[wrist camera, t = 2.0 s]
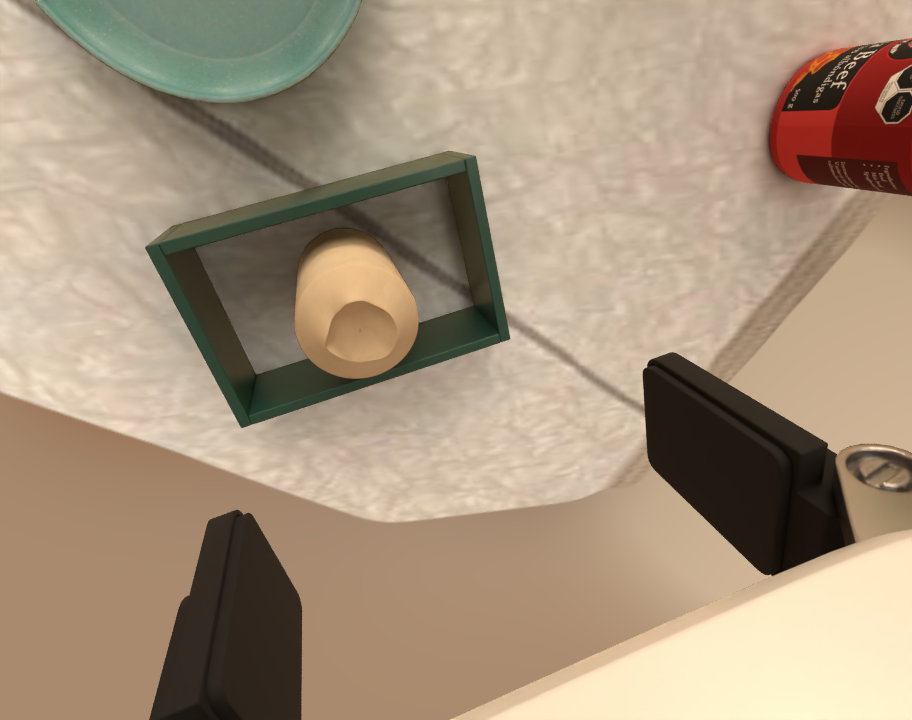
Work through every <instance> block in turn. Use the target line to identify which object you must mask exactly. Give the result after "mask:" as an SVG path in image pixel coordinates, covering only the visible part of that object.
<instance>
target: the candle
mask: <svg viewBox="0 0 912 720" xmlns="http://www.w3.org/2000/svg"><path fill="white" fill-rule="evenodd" d="M294 321H295V332H296V337H297V340H298V343H299V345H300V347H301V349H302V350H303V352H304V353H305V355H306V356H307V357H308V358H309V359H310V360H311V361H312V362H313V363H314V364H315V365H316V366H318V367H319V368H321V369H322V370H324V371H326V372H328V373H330V374H333V375H336V376H339V377H344V378H352V379H358V378H368V377H372V376H376V375H378V374H381V373H384V372H385V371H387V370H389V369H391V368H392V367H394V366H395V365H397V364H398V363H399V362H400V361H401V360H402V359H403V358H404V357H405V356H406V355H407V353H408V352H409V350H410V349H411V347H412V345H413V343H414V341H415V338H416V335H417V331H418V324H419V316H418V309H417V305H416V302H415V299H414V297H413V295H412V293H411V292H410V290H409V288H408V287H407V285H406V283H405V282H404V280H403V278H402V277H401V275H400V274H399V272H398V270H397V269H396V267H395V265H394V264H393V262H392V260H391V259H390V257H389V256H388V254H387V253H386V251H385V250H384V248H383V247H382V246H381V245H380V244H379V242H377V241H376V240H375V239H374V238H372V237H371V236H369V235H368V234H366V233H364V232H361V231H358V230H354V229H346V228H341V229H334V230H330V231H327V232H324V233H322V234H321V235H319V236H317V237H316V238H315V239H313V240H312V241H311V242H310V243H309V244H308V246H307V247H306V248H305V250H304V251H303V253H302V255H301V258H300V261H299V265H298V272H297V286H296V302H295V319H294Z"/></svg>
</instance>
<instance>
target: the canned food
mask: <svg viewBox="0 0 912 720" xmlns="http://www.w3.org/2000/svg"><path fill="white" fill-rule="evenodd" d="M770 149H771V153H772V157H773V160H774V162H775V164H776V166H777V167H778V168H779V169H780V170H781V171H782V172H783V173H785V174H786V175H788V176H790V177H791V178H793V179H795V180H797V181H801V182H806V183H814V184H822V185H830V186H837V187H845V188H853V189H861V190H869V191H877V192H885V193H892V194H900V195H908V196H912V38H911V39H904V40H897V41H890V42H883V43H876V44H869V45H862V46H855V47H848V48H841V49H837V50H833V51H830V52H828V53H826V54H824V55H822V56H820V57H818V58H816V59H814V60H812V61H810V62H809V63H807V64H806V65H805V66H804V67H802V68H801V69H800V70H799V71H798V72H797V73H796V74H795V75H794V76H793V78H792V79H791V80H790V82H789V83H788V85H787V86H786V87H785V89H784V91H783V93H782V95H781V97H780V98H779V100H778V103H777V106H776V108H775V111H774V114H773V118H772V122H771V128H770Z"/></svg>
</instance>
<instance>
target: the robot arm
mask: <svg viewBox="0 0 912 720" xmlns="http://www.w3.org/2000/svg"><path fill="white" fill-rule="evenodd" d="M643 388H644V404H645V421H646V437H647V453H648V459H649V462H650V464H651V466H652V467H653V469H654V470H655V471H656V472H657V473H658V474H659V475H660V476H661V477H662V478H663V479H665V480H666V482H668V483H669V484H670V485H671V486H672V487H673V488H674V489H675V490H676V491H677V492H678V493H679V494H680V495H681V496H682V497H683V498H684V499H685V500H686V501H687V502H688V503H689V504H690V505H691V506H692V507H693V508H694V509H695V510H696V511H697V512H699V513H700V514H701V515H702V516H703V517H704V518H705V519H706V520H707V521H708V522H709V523H710V524H711V525H712V526H713V527H714V528H715V529H716V530H717V531H718V532H719V533H720V534H721V535H722V536H723V537H724V538H725V539H726V540H728V542H730V543H731V544H732V545H733V546H734V547H735V548H736V549H737V550H738V551H739V552H740V553H741V554H742V555H743V556H744V557H745V558H746V559H747V560H748V561H749V562H750V563H751V564H752V565H753V566H754V567H755V568H756V569H758V570H759V571H760V572H761V573H763V574H765V575H770V574H771V575H772V577H770V578H767V579H765V580H763V581H760V582H758V583H756V584H753V585H751V586H749V587H746V588H744V589H742V590H740V591H737V592H735V593H733V594H731V595H728V596H726V597H724V598H722V599H719V600H717V601H715V602H712V603H711V604H708V605H706V606H703V607H701V608H699V609H696V610H694V611H692V612H690V613H687V614H685V615H683V616H681V617H678V618H676V619H674V620H671V621H669V622H667V623H665V624H662V625H660V626H658V627H656V628H653V629H651V630H649V631H647V632H644V633H642V634H640V635H638V636H635V637H633V638H631V639H629V640H627V641H624V642H622V643H620V644H617V645H615V646H613V647H611V648H608V649H606V650H604V651H602V652H599V653H597V654H595V655H593V656H591V657H588V658H586V659H584V660H582V661H579V662H577V663H575V664H573V665H571V666H569V667H566V668H564V669H561V670H559V671H557V672H555V673H553V674H550V675H548V676H546V677H544V678H542V679H539V680H537V681H535V682H532V683H530V684H528V685H526V686H524V687H522V688H519V689H517V690H515V691H512V692H510V693H508V694H506V695H504V696H501V697H500V698H497V699H495V700H493V701H490V702H488V703H486V704H484V705H482V706H479V707H477V708H475V709H473V710H471V711H468V712H466V713H464V714H462V715H460V716H457V717H455V718H453V719H451V720H912V453H911V452H909V451H906V450H903V449H899V448H896V447H893V446H887V445H880V444H859V445H854V446H849V447H847V448H845V449H843V450H841V451H840V452H839V454H838V455H837V454H836V453H834V452H832V451H831V450H829V449H827V447H828V444H827V443H826V442H824V441H823V440H821V439H819V438H818V437H816V436H814V435H813V434H811V433H809V432H808V431H806V430H804V429H803V428H801V427H799V426H797V425H796V424H794V423H793V422H791V421H789V420H787V419H786V418H784V417H782V416H781V415H779V414H777V413H776V412H774V411H772V410H771V409H769V408H767V407H766V406H764V405H762V404H761V403H759V402H757V401H756V400H754V399H752V398H751V397H749V396H747V395H746V394H744V393H742V392H741V391H739V390H737V389H736V388H734V387H732V386H731V385H729V384H727V383H726V382H724V381H722V380H721V379H719V378H717V377H715V376H714V375H712V374H710V373H709V372H707V371H705V370H704V369H702V368H700V367H699V366H697V365H695V364H694V363H692V362H690V361H689V360H687V359H685V358H684V357H682V356H680V355H679V354H677V353H674V352H671V353H668V354H665V355H662V356H660V357H657V358H654V359H651V360H650V361H649V362H648V364H647V368H645V369H644V370H643ZM301 675H302V606H301V601H300V597H299V595H298V593H297V591H296V589H295V588H294V586H293V584H292V582H291V581H290V579H289V577H288V576H287V574H286V572H285V570H284V568H283V567H282V565H281V563H280V562H279V560H278V558H277V556H276V555H275V553H274V551H273V550H272V548H271V546H270V544H269V543H268V541H267V539H266V538H265V536H264V534H263V532H262V531H261V529H260V527H259V525H258V524H257V522H256V520H255V519H254V517H253V516H252V514H250V513H247V514H244V515H243V514H242V513H241V512H240V511H239V510H235V511H232V512H230V513H227V514H224V515H221V516H218V517H216V518H213V519H211V520H209V521H208V524H207V528H206V531H205V535H204V539H203V543H202V547H201V551H200V556H199V560H198V564H197V567H196V571H195V576H194V579H193V584H192V588H191V592H190V595H189V596H187V597H185V598H184V599H183V601H182V602H181V604H180V607H179V609H178V613H177V617H176V621H175V625H174V629H173V632H172V636H171V640H170V643H169V647H168V651H167V655H166V658H165V662H164V666H163V670H162V674H161V677H160V681H159V685H158V689H157V693H156V696H155V700H154V704H153V708H152V711H151V715H150V719H149V720H301V684H302V683H301V682H302V676H301Z"/></svg>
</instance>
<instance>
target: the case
mask: <svg viewBox="0 0 912 720" xmlns="http://www.w3.org/2000/svg"><path fill="white" fill-rule="evenodd" d="M445 177H446V180H447V184H448V189H449V193H450V198H451V203H452V207H453V212H454V216H455V221H456V225H457V230H458V234H459V239H460V243H461V248H462V252H463V257H464V262H465V266H466V271H467V275H468V280H469V284H470V289H471V293H472V298H473V302H474V306H473V307H470V308H466V309H463V310H460V311H457V312H454V313H451V314H448V315H444V316H441V317H438V318H435V319H432V320H429V321H426V322H422V323H419V324H418V331H417V335H416V338H415V341H414V343H413V345H412V347H411V349H410V350H409V352H408V353H407V355H406V356H405V357H404V358H403V359H402V360H401V361H400V362H399V363H398V364H397V365H395V366H394V367H392V368H391V369H389V370H387V371H385V372H384V373H381V374H378V375H376V376H372V377H368V378H358V379H352V378H344V377H339V376H336V375H333V374H330V373H328V372H326V371H324V370H322V369H321V368H319V367H318V366H316V365H315V364H314V363H313V362H312V361H311V360H310V359H306V360H303V361H300V362H297V363H294V364H290V365H287V366H284V367H281V368H278V369H275V370H272V371H268V372H265V373H262V374H259V375H257V376H256V374H255V372H254V370H253V368H252V366H251V364H250V362H249V360H248V358H247V356H246V354H245V352H244V350H243V348H242V346H241V344H240V342H239V339H238V337H237V335H236V333H235V331H234V329H233V327H232V325H231V323H230V321H229V319H228V317H227V315H226V313H225V311H224V309H223V307H222V304H221V302H220V300H219V298H218V296H217V294H216V292H215V290H214V288H213V286H212V284H211V282H210V280H209V278H208V276H207V274H206V272H205V269H204V267H203V265H202V263H201V261H200V259H199V257H198V255H197V253H196V251H195V249H194V248H195V247H198V246H202V245H205V244H209V243H213V242H216V241H220V240H223V239H227V238H230V237H234V236H238V235H241V234H245V233H248V232H252V231H255V230H259V229H263V228H266V227H270V226H273V225H277V224H281V223H284V222H288V221H291V220H295V219H298V218H302V217H306V216H309V215H313V214H316V213H320V212H323V211H327V210H331V209H334V208H338V207H341V206H345V205H349V204H352V203H356V202H359V201H363V200H366V199H370V198H374V197H377V196H381V195H384V194H388V193H391V192H395V191H399V190H402V189H406V188H409V187H413V186H417V185H420V184H424V183H427V182H431V181H434V180H438V179H442V178H445ZM145 249H146V251H147V252H148V254H149V256H150V258H151V260H152V262H153V264H154V265H155V267H156V269H157V271H158V273H159V275H160V277H161V279H162V280H163V282H164V284H165V286H166V288H167V290H168V292H169V294H170V295H171V297H172V299H173V301H174V303H175V305H176V307H177V309H178V310H179V312H180V314H181V316H182V318H183V320H184V322H185V323H186V325H187V327H188V329H189V331H190V333H191V335H192V337H193V338H194V340H195V342H196V344H197V346H198V348H199V350H200V352H201V353H202V355H203V357H204V359H205V361H206V363H207V365H208V367H209V368H210V370H211V372H212V374H213V376H214V378H215V380H216V382H217V383H218V385H219V387H220V389H221V391H222V393H223V395H224V396H225V398H226V400H227V402H228V404H229V406H230V408H231V410H232V411H233V413H234V415H235V417H236V419H237V421H238V423H239V425H240V426H241V428H244V427H247V426H250V425H252V424H256V423H259V422H262V421H265V420H268V419H271V418H274V417H277V416H280V415H283V414H286V413H289V412H292V411H295V410H298V409H301V408H304V407H307V406H310V405H313V404H316V403H319V402H322V401H325V400H328V399H331V398H334V397H337V396H340V395H343V394H346V393H349V392H352V391H355V390H358V389H361V388H364V387H367V386H370V385H373V384H377V383H380V382H383V381H386V380H389V379H392V378H395V377H398V376H401V375H404V374H407V373H410V372H413V371H416V370H419V369H422V368H425V367H428V366H431V365H434V364H437V363H440V362H443V361H446V360H449V359H452V358H455V357H458V356H461V355H464V354H467V353H470V352H473V351H476V350H479V349H482V348H485V347H488V346H491V345H494V344H497V343H500V342H503V341H506V340H509V339H510V335H509V329H508V324H507V319H506V313H505V308H504V303H503V298H502V292H501V287H500V282H499V276H498V271H497V266H496V261H495V255H494V250H493V245H492V239H491V234H490V229H489V224H488V218H487V213H486V208H485V202H484V197H483V192H482V186H481V181H480V176H479V171H478V165H477V160H476V156H472V155H468V154H463V153H458V152H453V151H447V152H443V153H441V154H436V155H432V156H429V157H425V158H421V159H418V160H414V161H410V162H406V163H403V164H399V165H395V166H392V167H388V168H384V169H381V170H377V171H373V172H370V173H366V174H362V175H359V176H355V177H351V178H348V179H344V180H340V181H337V182H333V183H329V184H326V185H322V186H318V187H315V188H311V189H307V190H304V191H300V192H296V193H293V194H289V195H285V196H282V197H278V198H274V199H271V200H267V201H263V202H260V203H256V204H252V205H249V206H245V207H241V208H238V209H234V210H230V211H227V212H223V213H219V214H216V215H212V216H208V217H205V218H201V219H197V220H193V221H190V222H186V223H183V224H179V225H175V226H172V227H171V228H169V229H168V230H167V231H165V232H164V233H163V234H162V235H160V236H159V237H158V238H156V239H155V240H154V241H152V242H151V243H150V244H149V245H147V246H146V247H145Z"/></svg>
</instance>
